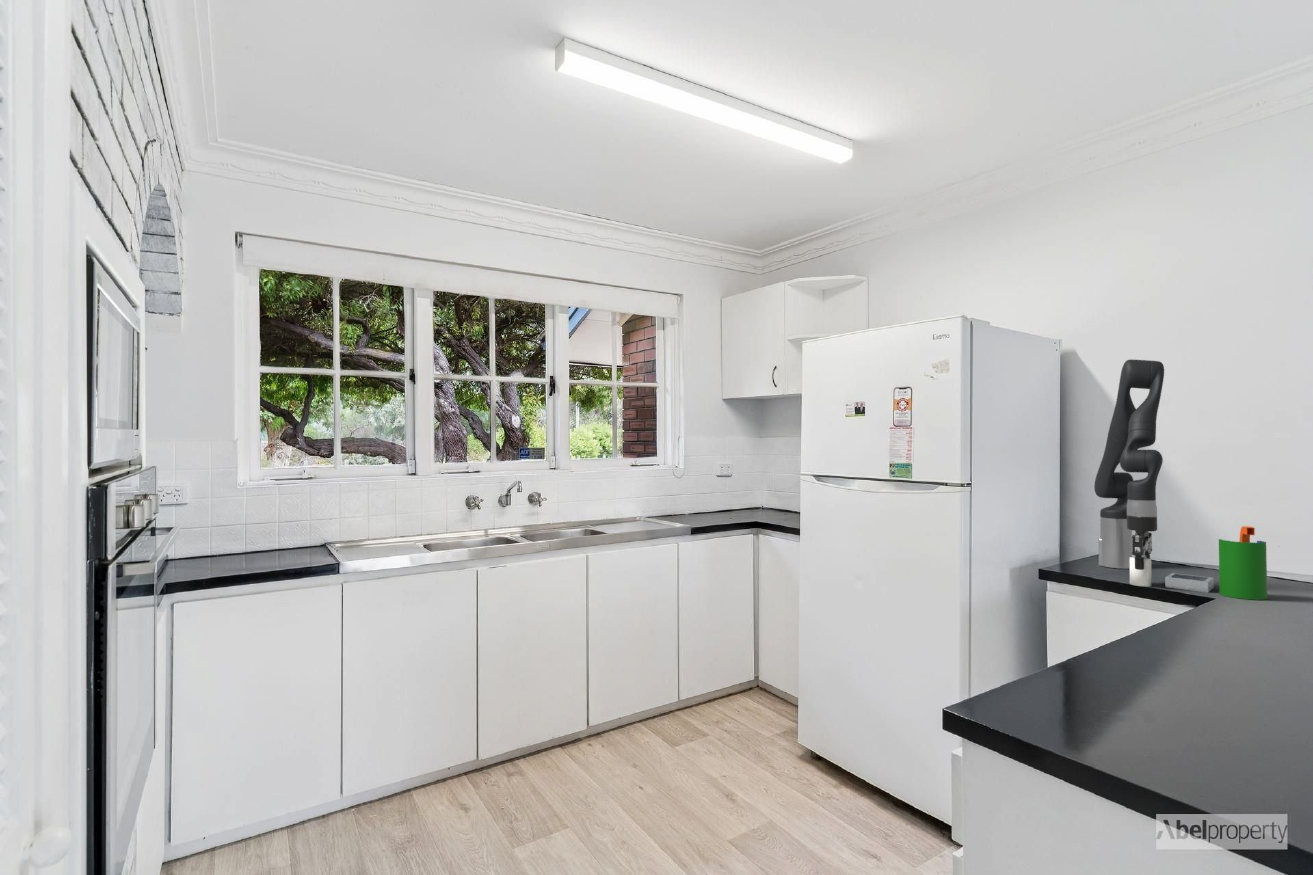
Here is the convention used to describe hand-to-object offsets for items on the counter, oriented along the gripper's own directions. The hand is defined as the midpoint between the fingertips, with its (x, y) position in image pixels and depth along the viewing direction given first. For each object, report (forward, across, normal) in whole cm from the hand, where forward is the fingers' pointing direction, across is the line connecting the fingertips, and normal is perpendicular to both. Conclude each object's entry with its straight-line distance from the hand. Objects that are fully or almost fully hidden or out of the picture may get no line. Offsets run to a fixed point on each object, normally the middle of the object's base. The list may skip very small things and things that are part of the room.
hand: (1142, 567), depth 204 cm
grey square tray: (+5, -6, +10) cm, 13 cm away
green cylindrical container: (+6, -2, +23) cm, 24 cm away
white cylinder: (+5, 0, -1) cm, 5 cm away
